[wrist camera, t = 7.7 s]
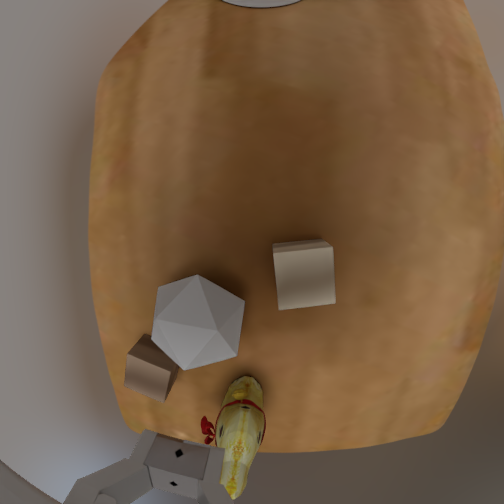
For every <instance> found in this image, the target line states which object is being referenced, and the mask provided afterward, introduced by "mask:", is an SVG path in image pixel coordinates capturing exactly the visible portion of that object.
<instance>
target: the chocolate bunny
mask: <svg viewBox="0 0 504 504" xmlns="http://www.w3.org/2000/svg"><path fill="white" fill-rule="evenodd" d="M263 414H264V412H263V391H262V389H261V386H260V384H259V383H258V382H257V381H256V380H255V379H254V378H253V377H247V376H244V377H242V378H239V379H237V380H235V381H234V382H233V383H232V384H231V385H230V386H229V388H228V391H227V394H226V396H225V398H224V400H223V402H222V405H221V411H220V413H219V415H218V417H219V418H218V417H217V420H218V422H217V420H216V424H217V428H216V425H215V429H214V426H213V425H212V423H211V422H208V421H207V418H206V417H205V416H204V417H203V418H202V420H201V428H202V433H203V434H205V435H207V434H208V436H207V437H206V439H205V440H204V441H205V444H210V443H211V442H212V441H213V439H214V437H215V444H216V446H217V447H220V448H225V454H224V459H223V465H222V470H221V476H220V481H219V484H223V485H224V487H225V489H226V490H227V492H228V494H229V495H230V497H231V499H235V498H237V497H238V496H240V495H241V493H242V491H243V490H244V488H245V486H246V484H247V478H248V471H249V467H250V465H251V463H252V460H253V458H254V456H255V454H256V452H257V450H258V448H259V446H260V445H261V443H262V440H263V437H264V433H265V428H266V420H265V414H264V415H263ZM264 420H265V424H264ZM210 428H213V430H214V432H215V434H213V433H212V431H211V430H210ZM210 435H211V436H213V438H210V437H209V436H210Z"/></svg>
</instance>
